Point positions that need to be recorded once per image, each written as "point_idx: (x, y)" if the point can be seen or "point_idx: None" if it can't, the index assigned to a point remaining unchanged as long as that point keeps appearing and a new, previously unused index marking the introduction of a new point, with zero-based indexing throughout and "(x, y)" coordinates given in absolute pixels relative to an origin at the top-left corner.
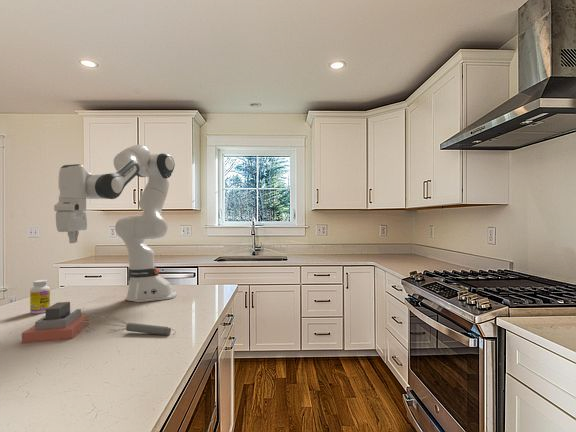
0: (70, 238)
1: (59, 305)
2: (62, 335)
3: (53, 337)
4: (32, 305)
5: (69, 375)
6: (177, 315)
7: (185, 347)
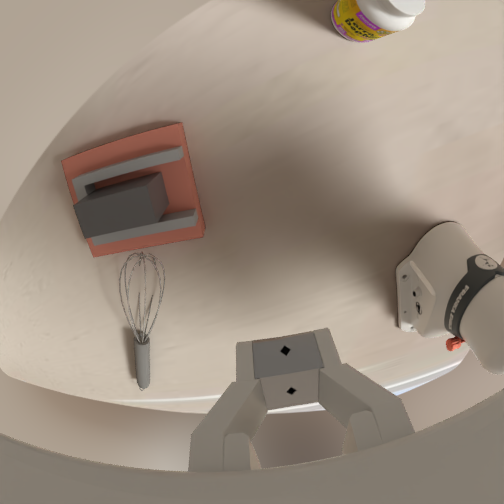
0: (235, 391)
1: (111, 218)
2: None
3: None
4: (339, 1)
5: (14, 309)
6: None
7: (107, 394)
